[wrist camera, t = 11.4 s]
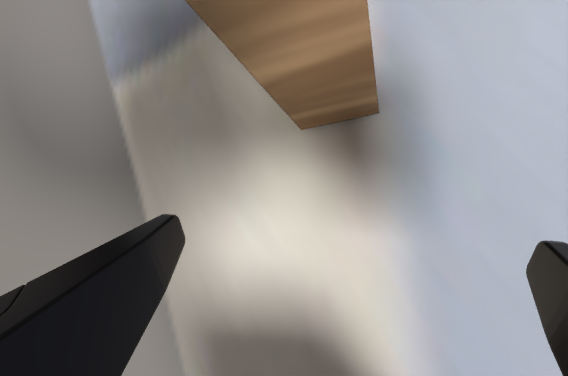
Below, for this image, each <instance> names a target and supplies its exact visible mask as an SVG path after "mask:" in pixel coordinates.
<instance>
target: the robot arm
mask: <svg viewBox="0 0 568 376" xmlns="http://www.w3.org/2000/svg"><path fill="white" fill-rule="evenodd" d="M184 244H185V235H184V232H183V229H182V226H181V223H180V220H179V218H178V217H177V216H176V215H170V214H163V215H160V216H158V217H156V218H154V219H152V220H150V221H148V222H146V223H144V224H142V225H140V226H138V227H136V228H134V229H133V230H131V231H129V232H127V233H125V234H123V235H121V236H119V237H117V238H115V239H113V240H111V241H109V242H107V243H105V244H103V245H101V246H99V247H97V248H95V249H93V250H91V251H89V252H87V253H85V254H83V255H81V256H79V257H77V258H75V259H74V260H71V261H69V262H67V263H66V264H63V265H62V266H60V267H58V268H56V269H54V270H52V271H50V272H48V273H46V274H44V275H42V276H40V277H38V278H36V279H34V280H32V281H30V282H28V283H27V284H26V285H22V286H20V287H18V288H16V289H14V290H12V291H10V292H8V293H6V294H4V295H2V296H0V376H121V375H122V373H123V371H124V369H125V367H126V365H127V363H128V362H129V360H130V358H131V356H132V354H133V352H134V350H135V348H136V347H137V345H138V343H139V341H140V339H141V337H142V335H143V333H144V331H145V329H146V328H147V326H148V324H149V322H150V320H151V318H152V316H153V314H154V312H155V311H156V309H157V307H158V305H159V303H160V301H161V299H162V297H163V295H164V293H165V291H166V289H167V287H168V284H169V282H170V279H171V277H172V274H173V272H174V269H175V267H176V265H177V262H178V260H179V257H180V255H181V252H182V250H183V247H184ZM526 274H527V279H528V282H529V285H530V288H531V291H532V294H533V298H534V301H535V304H536V307H537V310H538V313H539V316H540V319H541V323H542V326H543V329H544V332H545V335H546V337H547V340H548V343H549V345H550V347H551V350H552V352H553V354H554V357H555V359H556V361H557V363H558V366H559V368H560V370H561V372H562V374H563V376H568V244H567V243H564V242H558V241H541V242H539V243H538V245H537V246H536V248H535V250H534V252H533V255H532V257H531V259H530V261H529V263H528V265H527V269H526Z"/></svg>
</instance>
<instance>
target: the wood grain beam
mask: <svg viewBox="0 0 568 376" xmlns="http://www.w3.org/2000/svg"><path fill="white" fill-rule="evenodd" d="M185 1H186V2H187V3H188V4H189V5H190V6H191V7H192V9H193V10H194V11H195V12H196V13H197V14H198V15H199V16H200V17H201V19H202V20H203V21H204V22H205V23H206V24H207V25H208V26H209V27H210V29H211V30H212V31H213V32H214V33H215V34H216V35H217V36H218V38H219V39H220V40H221V41H222V42H223V43H224V44H225V45H226V46H227V48H228V49H229V50H230V51H231V52H232V53H233V54H234V55H235V56H236V58H237V59H238V60H239V61H240V62H241V63H242V64H243V65H244V66H245V68H246V69H247V70H248V71H249V72H250V73H251V74H252V75H253V76H254V78H255V79H256V80H257V81H258V82H259V83H260V84H261V85H262V87H263V88H264V89H265V90H266V91H267V92H268V93H269V94H270V95H271V97H272V98H273V99H274V100H275V101H276V102H277V103H278V104H279V105H280V107H281V108H282V109H283V110H284V111H285V112H286V113H287V114H288V115H289V117H290V118H291V119H292V120H293V121H294V122H295V123H296V124H297V125H298V127H299V128H300V129H301V130H302V129H307V128H311V127H316V126H321V125H325V124H330V123H334V122H339V121H343V120H348V119H353V118H357V117H362V116H366V115H371V114H375V113H379V109H378V99H377V90H376V80H375V71H374V61H373V51H372V42H371V32H370V22H369V13H368V3H367V0H185Z"/></svg>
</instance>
